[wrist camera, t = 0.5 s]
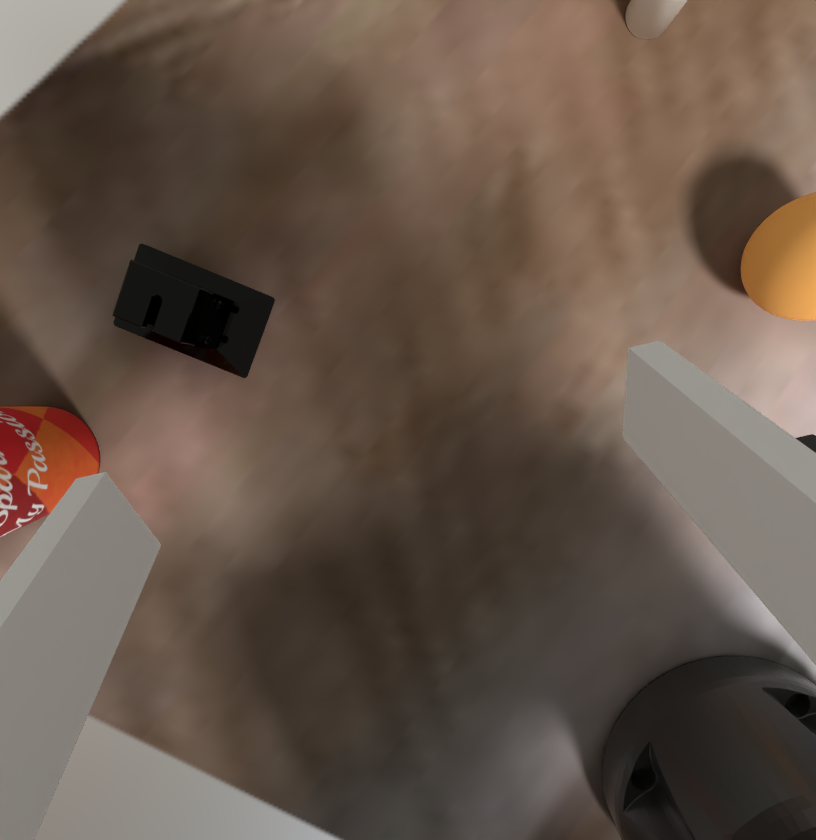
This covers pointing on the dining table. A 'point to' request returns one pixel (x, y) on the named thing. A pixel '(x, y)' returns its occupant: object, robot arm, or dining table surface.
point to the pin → (651, 16)
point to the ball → (784, 261)
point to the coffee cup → (40, 461)
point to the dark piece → (192, 310)
